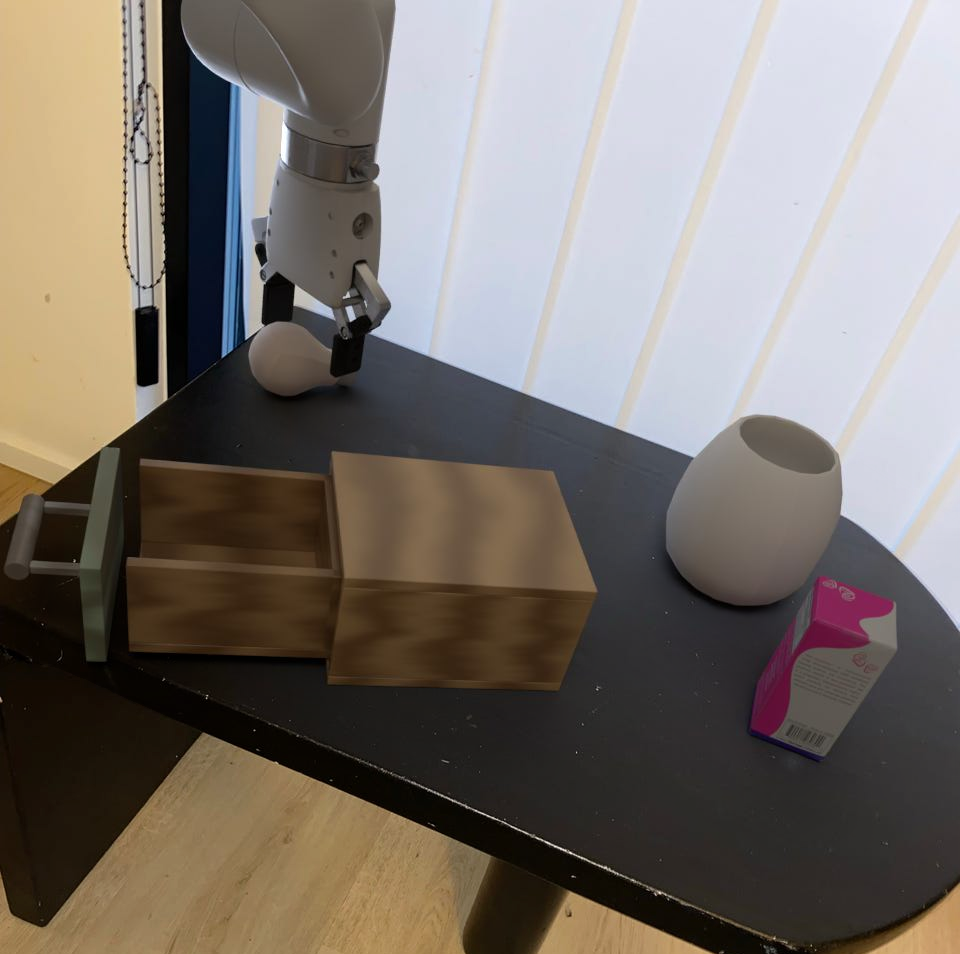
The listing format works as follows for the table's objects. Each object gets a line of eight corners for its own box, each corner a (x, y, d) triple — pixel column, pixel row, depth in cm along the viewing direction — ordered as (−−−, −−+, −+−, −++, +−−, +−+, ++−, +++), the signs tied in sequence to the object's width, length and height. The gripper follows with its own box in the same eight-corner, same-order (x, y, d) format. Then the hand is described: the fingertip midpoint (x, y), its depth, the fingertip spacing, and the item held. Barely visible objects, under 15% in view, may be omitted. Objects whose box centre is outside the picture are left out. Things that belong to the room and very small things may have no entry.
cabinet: (327, 684, 66) (344, 577, 60) (317, 555, 75) (331, 450, 69) (558, 691, 70) (598, 592, 64) (522, 568, 80) (553, 470, 73)
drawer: (4, 659, 61) (-11, 562, 55) (35, 533, 69) (24, 439, 64) (332, 669, 66) (346, 582, 61) (323, 551, 74) (334, 466, 69)
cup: (773, 538, 91) (840, 413, 82) (812, 636, 82) (893, 506, 73) (639, 516, 89) (692, 385, 80) (663, 614, 79) (726, 478, 70)
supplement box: (826, 711, 75) (900, 601, 68) (821, 764, 71) (900, 653, 63) (754, 682, 76) (820, 570, 68) (745, 733, 71) (814, 620, 64)
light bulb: (359, 323, 94) (256, 298, 86) (384, 370, 91) (279, 348, 84) (329, 375, 98) (228, 355, 90) (352, 422, 95) (249, 405, 88)
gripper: (437, 191, 77) (403, 383, 89) (297, 109, 84) (283, 297, 95) (366, 203, 72) (340, 404, 84) (224, 115, 79) (218, 312, 91)
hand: (310, 347), depth 90 cm, fingers open, 9 cm apart
